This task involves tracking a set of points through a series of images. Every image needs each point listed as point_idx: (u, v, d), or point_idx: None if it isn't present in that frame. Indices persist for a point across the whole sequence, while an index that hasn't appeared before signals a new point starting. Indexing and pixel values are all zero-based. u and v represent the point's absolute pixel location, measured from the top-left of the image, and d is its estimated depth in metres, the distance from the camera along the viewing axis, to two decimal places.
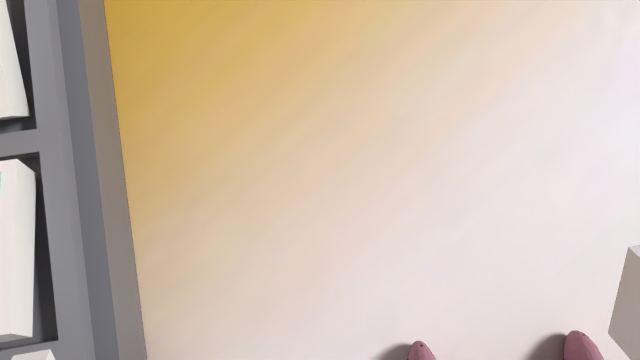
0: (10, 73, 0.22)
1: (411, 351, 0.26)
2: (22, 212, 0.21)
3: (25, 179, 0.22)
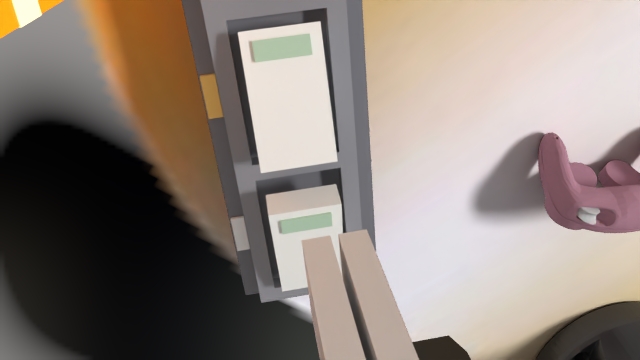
0: None
1: (547, 140, 0.36)
2: None
3: None
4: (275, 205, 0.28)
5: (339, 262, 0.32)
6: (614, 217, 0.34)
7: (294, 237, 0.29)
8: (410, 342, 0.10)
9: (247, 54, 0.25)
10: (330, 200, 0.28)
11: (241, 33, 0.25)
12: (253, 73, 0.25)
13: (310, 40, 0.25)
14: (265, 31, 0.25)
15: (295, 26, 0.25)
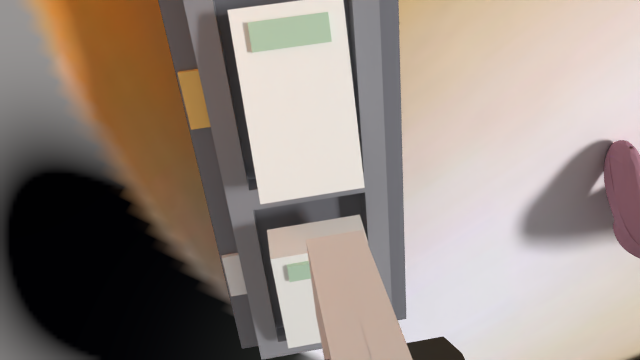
0: None
1: (618, 150, 0.29)
2: None
3: None
4: (280, 244, 0.21)
5: None
6: None
7: (305, 285, 0.22)
8: (404, 343, 0.10)
9: (241, 40, 0.18)
10: None
11: (232, 11, 0.18)
12: (250, 67, 0.18)
13: (328, 22, 0.18)
14: (266, 8, 0.18)
15: (308, 2, 0.18)
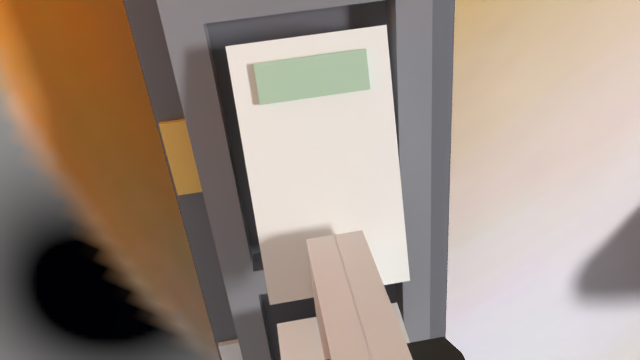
0: None
1: None
2: None
3: None
4: (294, 347, 0.16)
5: None
6: None
7: None
8: (404, 343, 0.10)
9: (244, 88, 0.13)
10: None
11: (232, 49, 0.13)
12: (257, 125, 0.13)
13: (366, 62, 0.13)
14: (279, 44, 0.13)
15: (338, 35, 0.13)
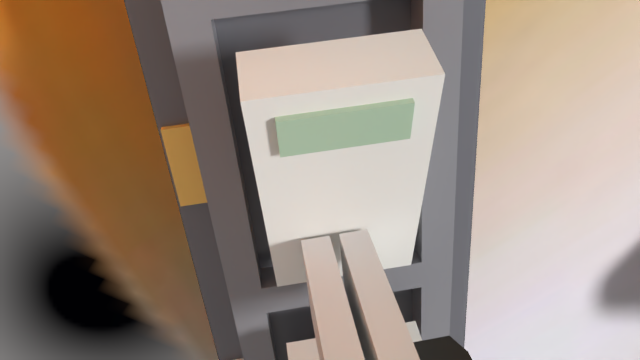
0: None
1: None
2: None
3: None
4: None
5: None
6: None
7: None
8: (411, 342, 0.10)
9: (261, 139, 0.11)
10: None
11: (249, 104, 0.10)
12: (274, 169, 0.11)
13: (411, 115, 0.11)
14: (309, 97, 0.10)
15: (384, 86, 0.10)
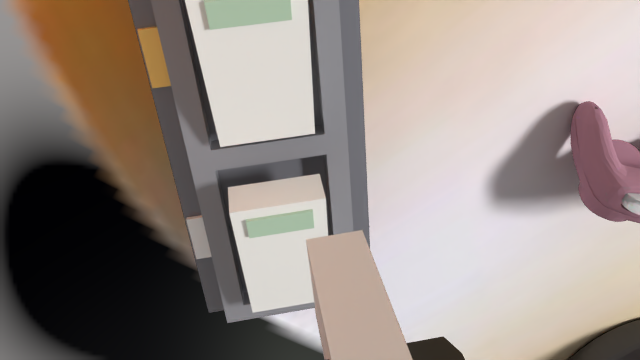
0: None
1: (584, 111, 0.29)
2: None
3: None
4: (239, 200, 0.22)
5: None
6: None
7: (265, 242, 0.23)
8: (404, 343, 0.10)
9: (197, 16, 0.17)
10: (311, 194, 0.22)
11: None
12: (207, 41, 0.18)
13: (289, 2, 0.17)
14: None
15: None
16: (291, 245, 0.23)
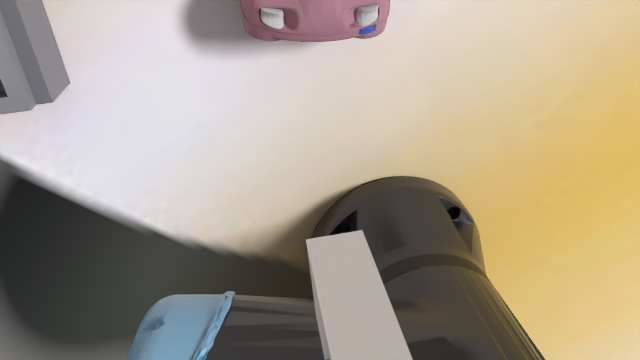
0: None
1: None
2: None
3: None
4: None
5: None
6: (297, 18, 0.31)
7: None
8: (404, 343, 0.10)
9: None
10: None
11: None
12: None
13: None
14: None
15: None
16: None
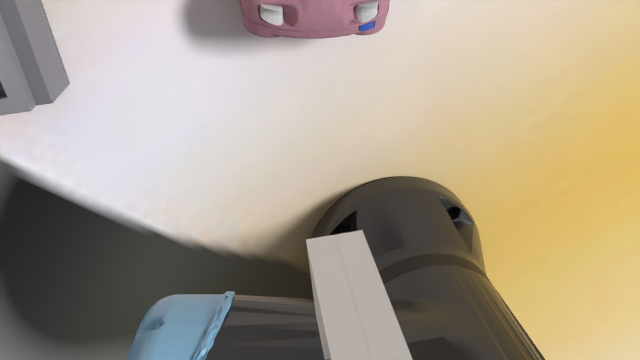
0: None
1: None
2: None
3: None
4: None
5: None
6: (296, 14, 0.31)
7: None
8: (404, 343, 0.10)
9: None
10: None
11: None
12: None
13: None
14: None
15: None
16: None
